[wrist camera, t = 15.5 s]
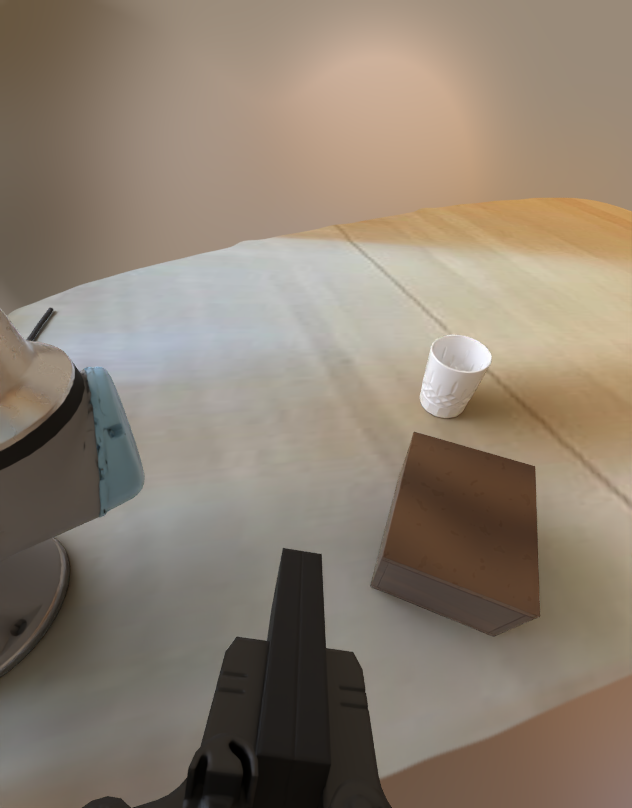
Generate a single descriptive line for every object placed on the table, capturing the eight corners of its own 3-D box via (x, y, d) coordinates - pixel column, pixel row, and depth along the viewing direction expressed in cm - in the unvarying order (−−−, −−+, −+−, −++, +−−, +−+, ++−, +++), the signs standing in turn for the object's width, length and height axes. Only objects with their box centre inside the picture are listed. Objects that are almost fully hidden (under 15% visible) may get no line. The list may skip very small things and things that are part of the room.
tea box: (397, 480, 45) (410, 441, 39) (499, 513, 42) (531, 477, 36) (370, 586, 37) (380, 559, 30) (493, 636, 34) (535, 619, 27)
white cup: (476, 399, 54) (501, 350, 47) (453, 430, 50) (476, 381, 43) (431, 377, 58) (447, 327, 50) (406, 404, 54) (420, 354, 46)
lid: (412, 435, 39) (413, 431, 39) (531, 470, 36) (535, 466, 35) (380, 559, 30) (382, 556, 30) (535, 619, 27) (540, 616, 27)
